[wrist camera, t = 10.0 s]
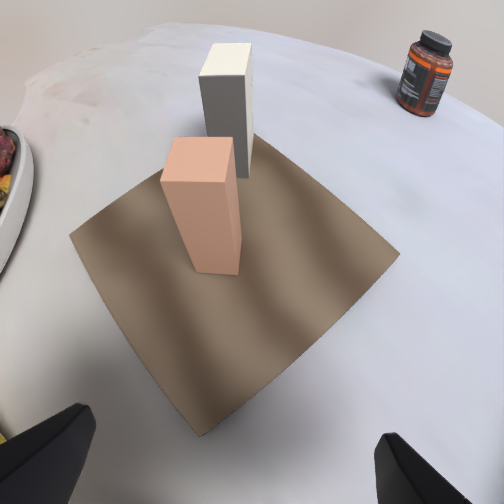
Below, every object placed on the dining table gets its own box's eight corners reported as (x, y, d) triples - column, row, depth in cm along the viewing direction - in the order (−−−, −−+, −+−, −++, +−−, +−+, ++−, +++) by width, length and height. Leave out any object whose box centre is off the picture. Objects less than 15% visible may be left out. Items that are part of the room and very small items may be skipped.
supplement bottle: (439, 110, 35) (464, 46, 25) (425, 124, 33) (454, 52, 23) (404, 88, 37) (424, 24, 27) (387, 100, 35) (408, 28, 25)
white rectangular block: (248, 178, 27) (244, 76, 18) (214, 177, 27) (198, 77, 18) (253, 135, 29) (251, 43, 20) (223, 135, 30) (213, 43, 20)
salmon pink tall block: (237, 275, 22) (224, 182, 13) (196, 272, 22) (159, 181, 14) (241, 238, 24) (232, 137, 15) (202, 236, 24) (174, 137, 15)
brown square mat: (202, 435, 18) (199, 436, 17) (74, 241, 26) (68, 235, 25) (395, 260, 24) (400, 253, 23) (240, 132, 31) (240, 123, 30)
